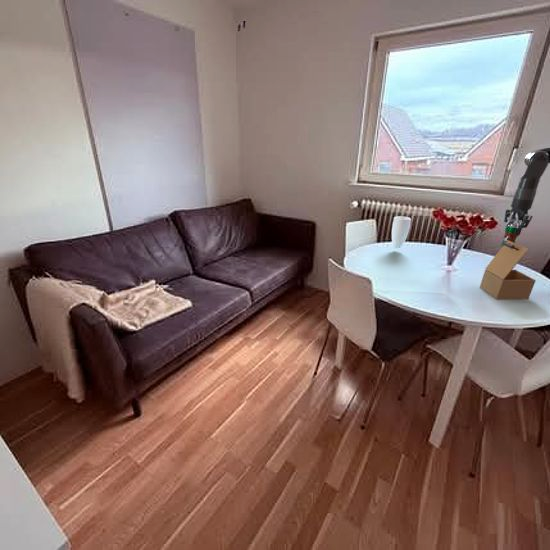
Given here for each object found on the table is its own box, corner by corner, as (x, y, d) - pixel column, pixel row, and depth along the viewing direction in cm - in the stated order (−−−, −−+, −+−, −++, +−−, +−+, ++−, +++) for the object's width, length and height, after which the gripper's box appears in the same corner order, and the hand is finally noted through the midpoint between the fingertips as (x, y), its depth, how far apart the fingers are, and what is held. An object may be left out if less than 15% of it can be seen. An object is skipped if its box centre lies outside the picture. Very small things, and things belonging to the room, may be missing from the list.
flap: (508, 240, 142) (500, 236, 141) (529, 249, 131) (520, 245, 130) (485, 269, 147) (478, 265, 146) (503, 279, 136) (495, 275, 136)
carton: (509, 287, 152) (515, 269, 148) (528, 299, 141) (535, 280, 137) (479, 287, 151) (485, 269, 147) (496, 299, 140) (503, 280, 137)
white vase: (385, 248, 202) (391, 215, 193) (402, 249, 201) (408, 216, 192) (389, 253, 193) (396, 219, 184) (407, 254, 192) (414, 220, 183)
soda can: (515, 250, 148) (523, 226, 143) (503, 249, 149) (511, 225, 144) (509, 247, 153) (518, 223, 148) (498, 246, 154) (506, 222, 149)
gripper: (544, 200, 134) (531, 238, 141) (520, 195, 148) (508, 229, 154) (527, 200, 134) (515, 238, 141) (504, 195, 147) (493, 229, 154)
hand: (511, 233), depth 148 cm, fingers closed on soda can, 5 cm apart
